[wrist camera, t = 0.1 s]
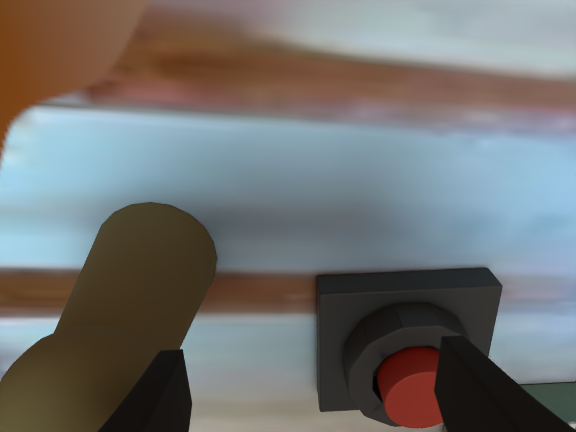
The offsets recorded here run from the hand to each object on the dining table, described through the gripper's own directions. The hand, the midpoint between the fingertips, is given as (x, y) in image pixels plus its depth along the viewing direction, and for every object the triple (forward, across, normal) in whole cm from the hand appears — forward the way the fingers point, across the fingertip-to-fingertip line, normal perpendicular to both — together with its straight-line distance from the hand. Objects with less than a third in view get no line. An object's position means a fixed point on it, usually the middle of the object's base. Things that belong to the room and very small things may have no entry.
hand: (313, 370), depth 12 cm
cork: (+10, +7, +2) cm, 13 cm away
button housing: (+10, -6, +7) cm, 14 cm away
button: (+7, -5, +7) cm, 12 cm away
